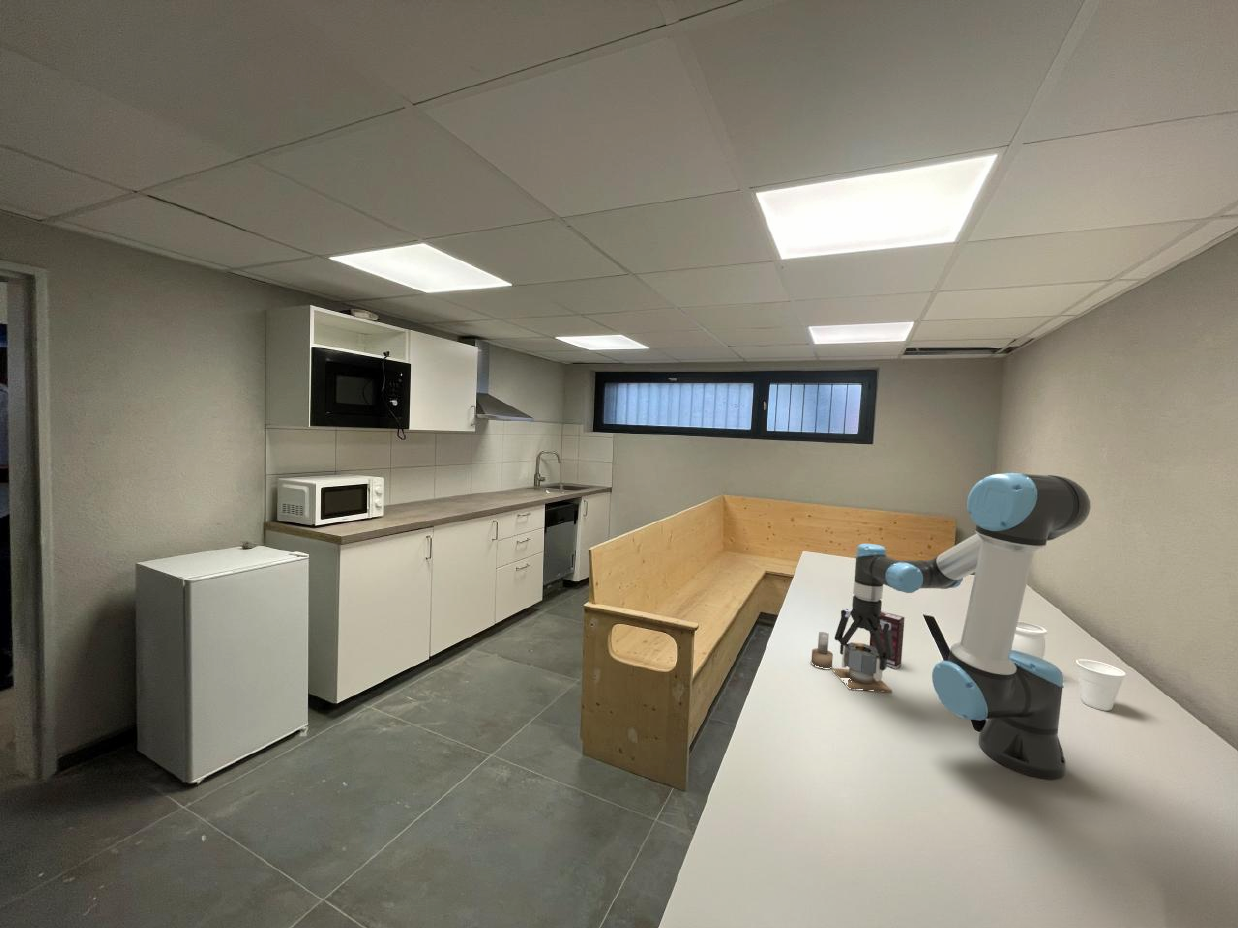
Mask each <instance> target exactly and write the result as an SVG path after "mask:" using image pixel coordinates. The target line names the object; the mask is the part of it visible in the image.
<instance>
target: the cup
mask: <svg viewBox="0 0 1238 928" xmlns="http://www.w3.org/2000/svg"><path fill="white" fill-rule="evenodd" d="M1075 663H1076V665H1077V675H1078V679H1079V681H1078V682H1079V683H1078V684H1079V690H1080V698H1081V699H1080V700H1081V701H1082V703H1083V704H1084V705H1087V706H1088V707H1090V708H1093V709H1095V710H1098V711H1099V710H1100V711H1104V712H1105V711H1107V712H1109V711H1111V710H1113V708H1114V704H1115V702H1116V698H1117V696H1118V693H1119V691H1120V688H1121V686H1122V684H1123V680H1124V677H1125V676H1126V675H1127V674H1126V672H1125V671H1124V670H1122V669H1121V668H1118V667H1116V666H1113V665H1111V664H1107V663H1104V662H1100V661H1096V660H1092V659H1085V658H1083V659H1082V658H1081V659H1076V660H1075Z"/></svg>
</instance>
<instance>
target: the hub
mask: <svg viewBox="0 0 1238 928" xmlns="http://www.w3.org/2000/svg"><path fill="white" fill-rule="evenodd" d="M862 652H865V651H862ZM832 669H833V670H834V671H835V673H836V674H837V675H838V676H839V677H840V678H850V679H851V680H850V679H849V680H848V685H847V683H846V685H847V686H848V687H849V688H851V689H863V690H874V691H884V692H883V693H886V692H892V693H893V689H891V688H890V687H889V686H888V685H887V684H886V683H885V682H884V681H883V680H882V679H881V680H879V681H875V674H872V673H863V672H859V671H857V670H854V669H852V668H849V667H848V668H835V667H832V668H831V670H832ZM835 673H834V674H835ZM836 674H835V675H836ZM837 675H836V676H837ZM843 681H844V680H843ZM851 681H852V682H851Z"/></svg>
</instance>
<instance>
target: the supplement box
mask: <svg viewBox="0 0 1238 928" xmlns="http://www.w3.org/2000/svg"><path fill="white" fill-rule="evenodd" d="M880 616H881V619H882V620H883V621H885V622H887V623H888V622H891V623H892V628H891V634H892V641H893V647H894V654H895V657H894V658H892V659H890V660H889V659H887V664H886V665H887V666H886V667H888V666H889V667H888V668H891V667H892V668H891V669H895V670H898V669H899V668H900V667H901V666H902V659H903V643H904V630H905V616H902V615H898V614H896V613H895V614H894V613H889V612H887V611H883V610H881V615H880ZM878 629H879V634H880V636H881V639H882V641H883V644H884V647H885V643H884V637H883V629H882V626H881V624H880V625H878ZM869 634H870V633H869ZM868 645H869V646H872V647H875V648H876V646H875V643H874V641H873V638H872V635H871V634H870V635H869V644H868ZM899 666H900V667H899Z"/></svg>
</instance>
